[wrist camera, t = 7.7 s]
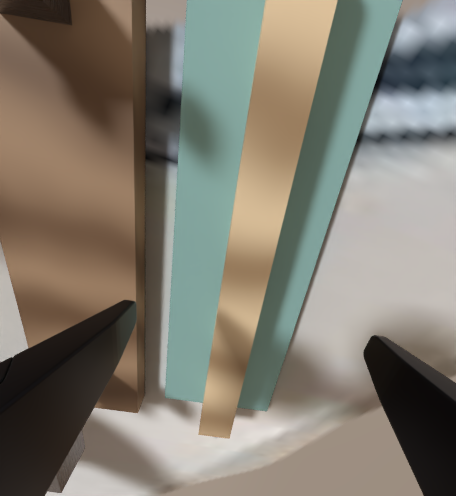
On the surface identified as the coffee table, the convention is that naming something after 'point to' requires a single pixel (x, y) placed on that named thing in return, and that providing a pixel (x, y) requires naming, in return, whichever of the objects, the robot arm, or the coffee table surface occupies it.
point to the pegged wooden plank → (58, 10)
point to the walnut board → (76, 174)
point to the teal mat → (226, 174)
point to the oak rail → (263, 190)
